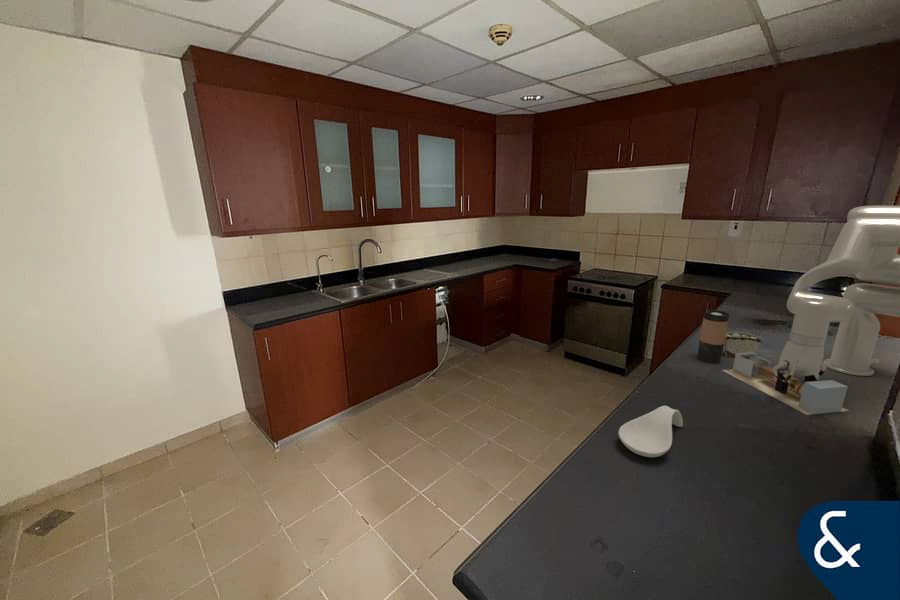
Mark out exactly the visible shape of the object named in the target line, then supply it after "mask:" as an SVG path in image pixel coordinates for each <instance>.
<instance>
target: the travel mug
mask: <svg viewBox="0 0 900 600" xmlns="http://www.w3.org/2000/svg"><path fill="white" fill-rule="evenodd" d="M729 317H730V314H729V312H726V311H723V310H722V311H721V310H716V309H715V310H714V309H708V310H706V311H704V313H703V319H702V324H701V328H700V329H701V330H700V336H699V343H698V351H697V359H698V360H699V361H701V362H702V363H707V364H716V365H717V364H720V363H721V359H722V355H723V350H724V348H725V347H724V346H725V342H726V339H725V336H726V333H727V329H728V323H729Z"/></svg>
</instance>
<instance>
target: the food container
mask: <svg viewBox="0 0 900 600" xmlns="http://www.w3.org/2000/svg"><path fill="white" fill-rule="evenodd" d="M761 344H764V339H763V337H761V336H759V335H756V334H753V333H749V332H743V331H729V332H726V336H725V342H724V346H725V347H724V357H725V358H732V359H735V355H736V353H741V352H755V353H757V354H759V353H758V352H759V350H760V346H761ZM744 358H746V359H749V357H744Z"/></svg>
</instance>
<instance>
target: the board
mask: <svg viewBox="0 0 900 600" xmlns="http://www.w3.org/2000/svg"><path fill="white" fill-rule="evenodd" d="M722 372H724V373H726V374H728V375H730V376H732V377H734V378H736V379H738V380H739V381H742V382H744V383H746V384H747V385H749V386H751V387H752V388H755V389H757V390H758V391H760V392H763V393H765V394H766V395H769V396H770V397H772V398H774V399H776V400H778V401H779V402H781V403H784V404H785V405H787V406H789V407H791V408H793V409H795V410H797V411H798V412H801V413H802V414H803V415H807V416H808V415H813V414H812V413H810V412H808V411H806V410H804V409H802V408H800V407H799V403H800V399H801V396H800V395H798V394H796V393H794V392H792V391H790V390H788V389H787V393H786V394H782V393H780V392H778V391H776V390H775V385H776V383H774V382H771V381H769V380H767V379H754V380H750V379H748V378H746V377H744V376H742V375H740V374H738V373H736V372H734V371H733V368H732V369H722ZM841 412H842V413H843V412H850V410H849V409H848V408H845V407H843V406H842V409H841ZM830 413H831V414H832V413H833V412H830ZM830 413H829V414H830ZM819 414H822V413H819ZM819 414H818V415H819Z"/></svg>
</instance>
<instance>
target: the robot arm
mask: <svg viewBox="0 0 900 600" xmlns="http://www.w3.org/2000/svg"><path fill="white" fill-rule="evenodd" d="M846 218H847V219H846V220H847V222H846V223H845V224H844V225H843V226H842V227H841V228H842V229H841V231H840V233H839V235H838V237H837V239H836V241H835V243H834V245H833V246H832V249H831V251H830V253H829V256H828V258H827V260H826V261H825V262H823V263H820V264H819V265H817V266H815V267H813V268H811V269H810V270H807V272H805V273H803V274H802V275H800V277H799V278H798V279H797V281H796V282H795V283H794V285H793V287H792V290H791V292H790V294H789V296H788V299H787V302H786V308H787V310H788V311H789V312H790V313H791V314H794V317H793V322H792V326H791V330H790V334H789V339H788V341H786V343H785V345H784V346H783V349H782V351H781V354H780V357H779V359H778V363H777V365H774V366H773V367H772V368H773V372H774V375H775V378H776V379H777V381H776V385H775V390H776V391H778V392H780V393H782V394H786V393H787V389H788V385H789V383H788V382H787V381H788V380H789V379H790V378H791V377H804V379H803V382H804V383H805V382H812V381H820V379H821V376H822V375H823V374H825V373H824V372H825V371H826V369H827V368H829V369H831V370H833V371H836V372H840V373H842V374H847V375H851V376H859V377H869V376H873V375H874V374H875V370H874V369H873V368H872V367H871V365H877V364H879V363H880V360H879V359H877V358H872V357H873V352H874V350H875V346H876V343H877V339H878V336H879V333H880V330H881V323H880V321H879V319H878V317H877V316H876V314H879V315H886V316H891V317H898V318H900V254H899V253H898V249H899V248H900V205H892V204H891V205H886V204H885V205H884V204H882V205H862V206H857V207H854V208H852V209H849V211H848V213H847V217H846ZM849 275H854V276H855V278H856V279H858V280H860V281H865V282H866V283H861V282H860V283H853V284H850V285H848V286H847V287H846V288H845V290H844V292H843V296H835V295H829V294H823V293H816V292H812V291H811V292H810V291H809V290H810V288H811V287H812V286H813V285H815V284H817V283H819V282H821V281H824V280H828V279H833V278H837V277H841V276H849ZM867 282H870V283H867ZM875 283H878V284H875ZM883 284H886V285H883ZM889 285H896V286H889ZM898 286H899V287H898ZM830 323H839V325H838V329H837V333H836V337H835V340H834V344H833V348H832V351H831V355H830V358H826V359H824V356H825V355H824V353H825V343H826V339H827V336H828V332H829V328H830V325H831V324H830ZM784 374H786V375H787V376H786V377H784V376H783V375H784Z"/></svg>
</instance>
